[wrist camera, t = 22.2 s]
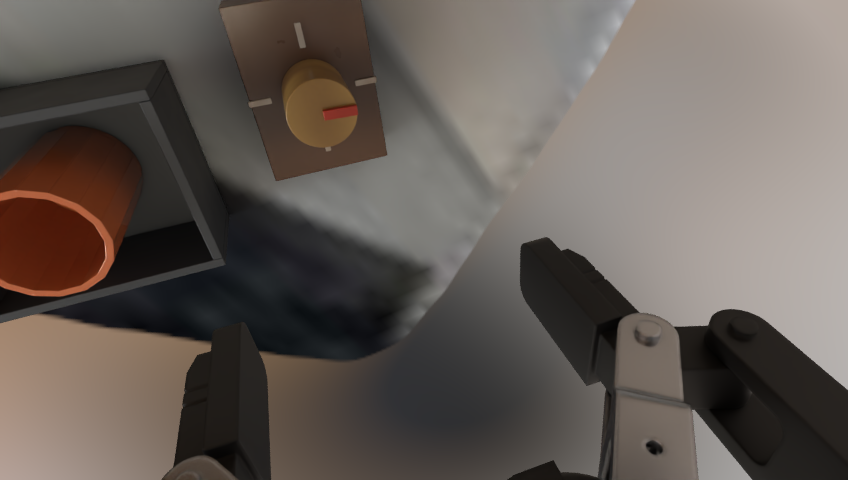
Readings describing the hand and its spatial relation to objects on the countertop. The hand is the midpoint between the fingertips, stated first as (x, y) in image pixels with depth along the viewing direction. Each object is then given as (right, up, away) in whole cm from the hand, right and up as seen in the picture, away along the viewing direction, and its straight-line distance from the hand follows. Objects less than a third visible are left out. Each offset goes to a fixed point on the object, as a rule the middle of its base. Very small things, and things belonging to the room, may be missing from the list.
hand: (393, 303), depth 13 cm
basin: (-21, +6, +18) cm, 29 cm away
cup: (-21, +6, +18) cm, 28 cm away
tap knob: (-6, +11, +17) cm, 21 cm away
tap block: (-7, +13, +19) cm, 24 cm away
